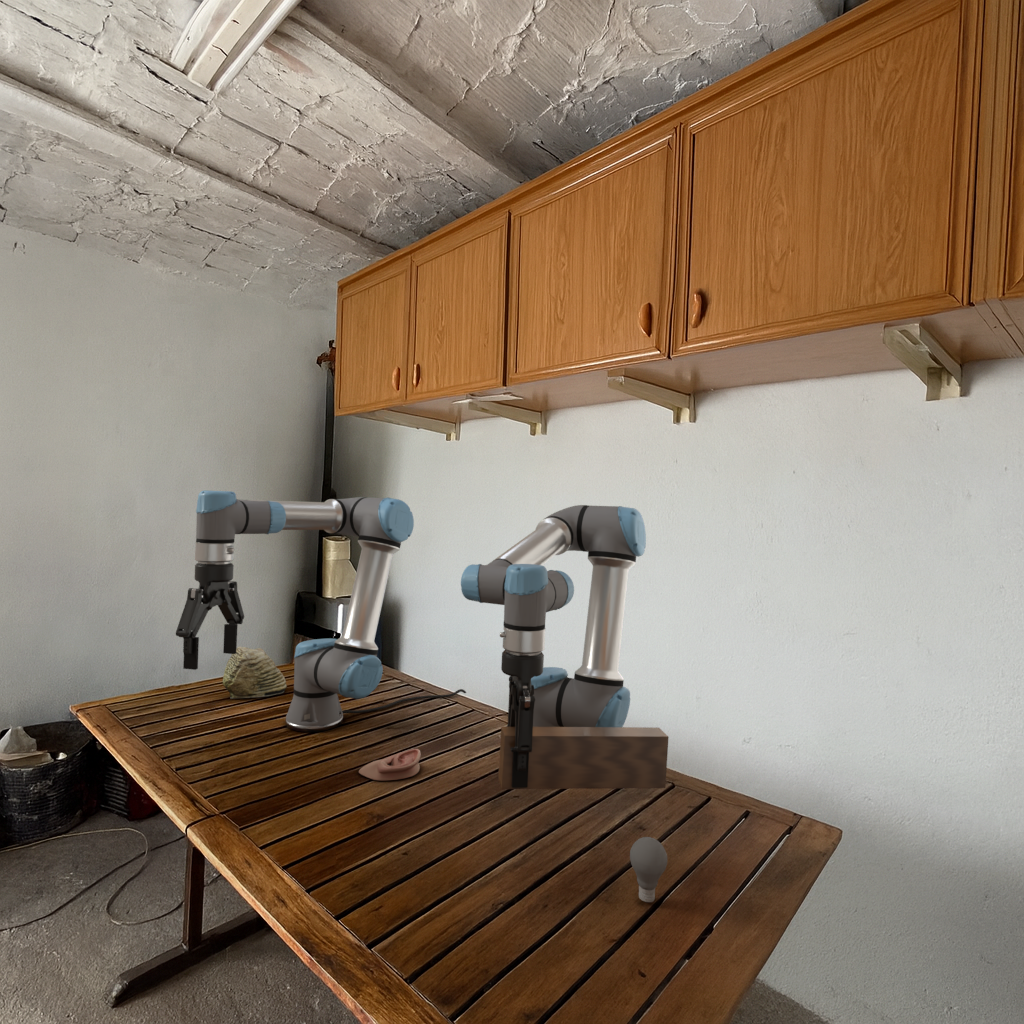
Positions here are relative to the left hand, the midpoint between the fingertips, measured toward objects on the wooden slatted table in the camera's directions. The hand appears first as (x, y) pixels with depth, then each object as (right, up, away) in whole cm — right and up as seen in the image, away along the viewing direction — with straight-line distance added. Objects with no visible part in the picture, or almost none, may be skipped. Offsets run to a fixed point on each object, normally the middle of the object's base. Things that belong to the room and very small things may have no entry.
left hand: (211, 660), depth 136 cm
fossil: (-16, -25, +62) cm, 68 cm away
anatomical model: (+36, -28, +11) cm, 48 cm away
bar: (+78, -17, -21) cm, 82 cm away
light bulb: (+87, -32, -33) cm, 98 cm away
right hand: (+66, -16, -22) cm, 71 cm away
